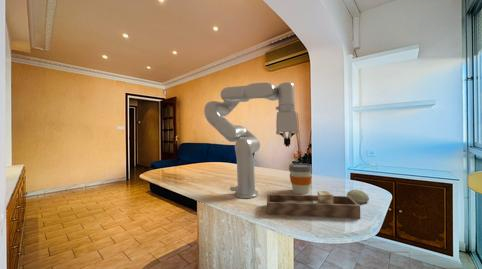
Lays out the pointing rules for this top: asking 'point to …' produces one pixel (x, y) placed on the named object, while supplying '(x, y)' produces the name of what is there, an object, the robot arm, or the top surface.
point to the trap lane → (312, 206)
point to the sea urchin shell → (358, 196)
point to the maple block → (325, 197)
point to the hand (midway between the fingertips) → (287, 146)
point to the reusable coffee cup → (300, 177)
